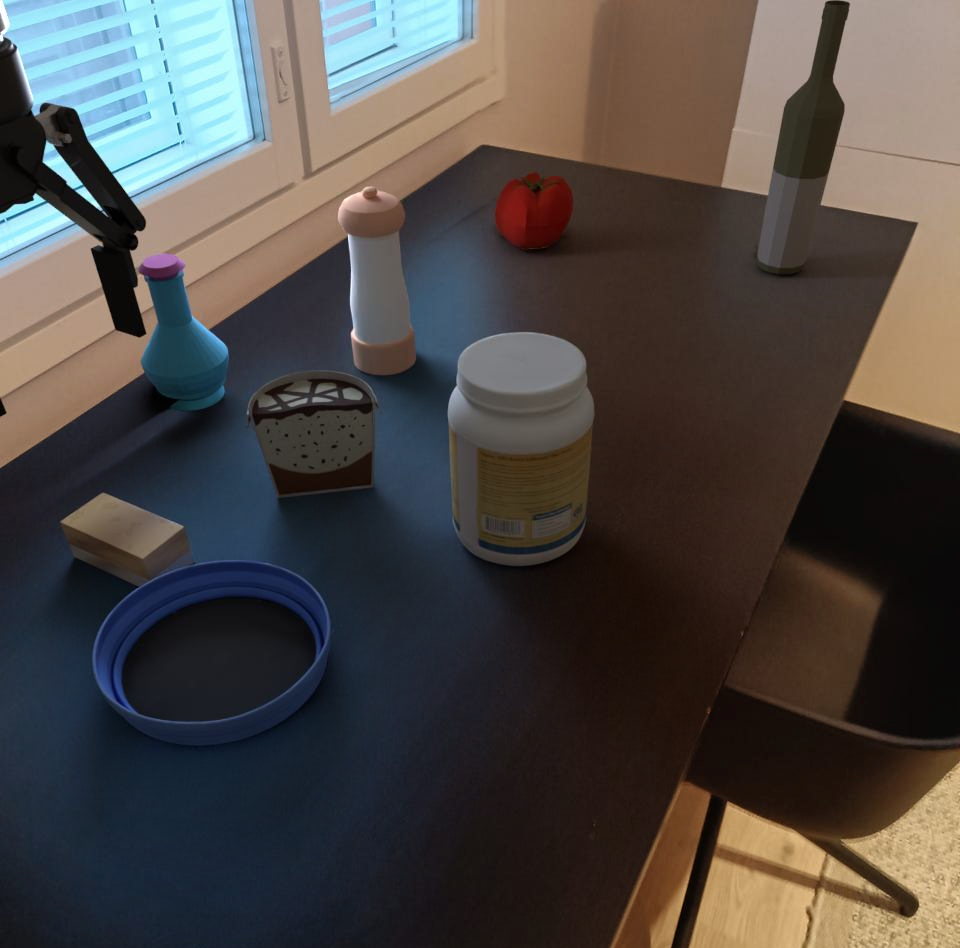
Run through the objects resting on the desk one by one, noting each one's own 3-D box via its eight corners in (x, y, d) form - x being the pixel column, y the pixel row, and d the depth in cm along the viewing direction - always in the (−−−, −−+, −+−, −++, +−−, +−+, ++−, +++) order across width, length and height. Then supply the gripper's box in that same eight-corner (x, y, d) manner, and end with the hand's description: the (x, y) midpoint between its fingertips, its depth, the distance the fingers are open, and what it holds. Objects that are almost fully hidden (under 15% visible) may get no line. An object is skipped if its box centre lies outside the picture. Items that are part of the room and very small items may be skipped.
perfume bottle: (160, 424, 99) (120, 287, 88) (145, 384, 105) (106, 252, 94) (245, 405, 101) (216, 270, 91) (225, 367, 107) (196, 236, 97)
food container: (383, 451, 95) (374, 361, 88) (389, 485, 91) (380, 394, 84) (261, 463, 94) (242, 373, 86) (261, 499, 89) (241, 408, 82)
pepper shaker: (347, 350, 110) (327, 180, 96) (407, 340, 111) (394, 171, 98) (361, 380, 105) (341, 205, 91) (423, 369, 107) (412, 195, 93)
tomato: (575, 231, 134) (579, 167, 128) (562, 262, 127) (566, 196, 121) (504, 225, 136) (504, 162, 130) (487, 255, 129) (487, 190, 123)
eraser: (74, 556, 83) (59, 521, 81) (115, 527, 86) (102, 492, 84) (155, 594, 80) (142, 558, 77) (195, 561, 83) (184, 526, 80)
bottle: (766, 281, 122) (824, 11, 101) (743, 260, 127) (794, -2, 105) (815, 275, 123) (882, 7, 102) (791, 254, 128) (850, -6, 107)
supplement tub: (611, 528, 86) (630, 360, 74) (521, 592, 79) (526, 420, 68) (515, 475, 92) (518, 311, 80) (425, 530, 86) (414, 362, 74)
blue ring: (95, 774, 66) (80, 743, 64) (113, 606, 79) (100, 575, 76) (346, 732, 69) (341, 701, 66) (325, 576, 81) (319, 545, 79)
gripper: (-220, 107, 46) (-44, 465, 61) (145, 7, 61) (214, 314, 76) (-302, 87, 49) (-115, 434, 64) (67, -5, 64) (148, 294, 79)
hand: (64, 369), depth 70 cm, fingers open, 13 cm apart
